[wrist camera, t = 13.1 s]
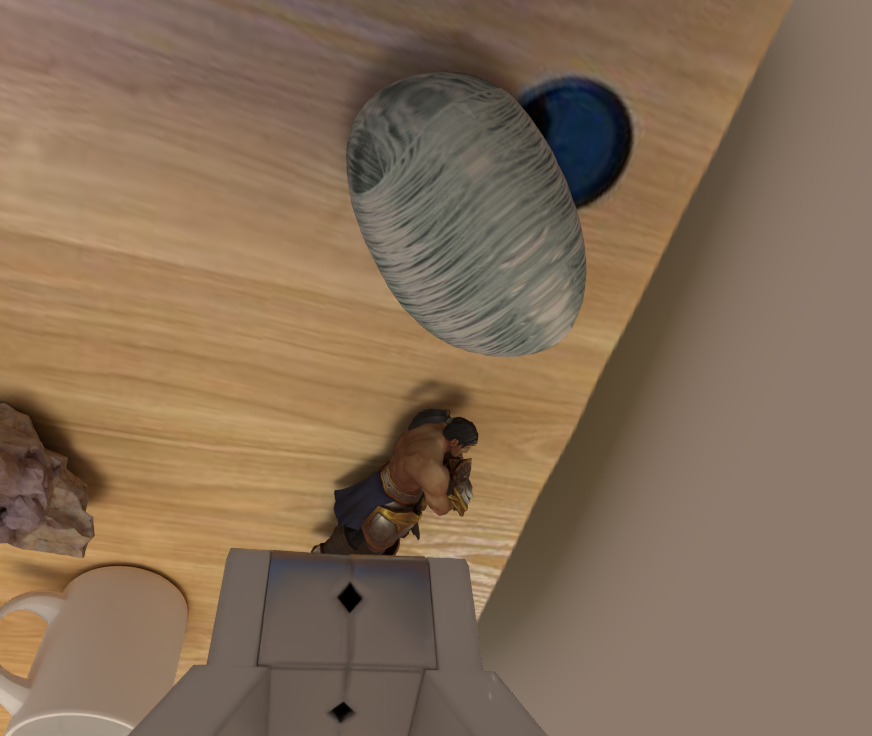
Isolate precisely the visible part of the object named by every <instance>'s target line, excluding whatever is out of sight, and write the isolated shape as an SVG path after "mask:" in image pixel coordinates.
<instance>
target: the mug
mask: <svg viewBox="0 0 872 736" xmlns="http://www.w3.org/2000/svg"><path fill="white" fill-rule="evenodd" d="M16 610H29V611H32V612H35V613H36V614H38V615H39V616H41V617H42V618H43V619H44V620H45V621H46V622H47V624H48V626H47V629H46V631H45V634H44V636H43V639H42V641H41V644H40V646H39V649H38V651H37V654H36V656H35V659H34V661H33V664H32V666H31V669H30V672H29V674H28V677H27V679H25V678H22V677H19V676H16V675H14V674H12V673H10V672H9V671H7V670H6V669H4V668H3V667H2V666H1V665H0V704H1V705H2V706H3V707H4V708H6V709H7V710H8V712H9V713H10V714H11V716H12V717H11V720H10V722H9V725H8V728H7V730H6V733H5V735H4V736H128V734H129V733H130V732H131V731H132V730H133V729H134V728H135V727H136V726H137V725H138V724H139V723H140V722H141V721H142V720H143V718H144V717H145V716H146V715H147V714H148V713H149V712H150V711H151V710H152V709H153V708H154V707H155V706H156V705H157V704H158V703H159V701H160V700H161V699H162V698H163V697H164V696H165V695H166V694H167V693H168V692H169V691H170V690H171V689H172V688H173V685H174V681H175V676H176V672H177V667H178V663H179V658H180V654H181V649H182V645H183V640H184V636H185V631H186V626H187V618H188V610H187V605H186V602H185V599H184V597H183V595H182V594H181V592H180V591H179V590H178V589H177V588H176V587H175V586H174V585H173V584H172V583H171V582H169V581H168V580H167V579H165V578H163V577H162V576H160V575H158V574H156V573H153V572H151V571H148V570H144V569H141V568H135V567H128V566H109V567H102V568H97V569H93V570H90V571H88V572H85V573H83V574H81V575H80V576H78V577H77V578H75V579H74V580H72V581H71V582H70V583H69V584H68V585H67V586H66V588H65V589H64V590H63V592H62V593H61V592H55V591H47V590H36V591H30V592H26V593H23V594H20V595H18V596H16V597H14V598H12V599H11V600H9V601H8V602H6V603H5V604H4V605H3V606H2V607H0V619H1V618H2V617H3V616H5V615H6V614H8V613H10V612H13V611H16Z"/></svg>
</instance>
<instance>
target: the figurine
mask: <svg viewBox="0 0 872 736" xmlns="http://www.w3.org/2000/svg"><path fill="white" fill-rule="evenodd" d="M441 408H442V407H441ZM449 415H450V411H449ZM449 415H448V413H447V410H446V411H445V410H441V409H428V410H425V411H422V412H419V413H418V414H417V415H416V416H415V417H414V419H413V420H412V422H411V423H410V424H409V428H408V430H407V432H405V433H404V434H402V436H401V437H400V439H399V440H398V442H397V444H396V445H395V448H394V451H393V457H392V459H391V461H389V460H388V461H387V462H386V463H385V464H383V465H382V466H381V467H380V468H379V469H378V470H377V471H375V472H374V473H373V474H372V475H371V476H370V477H368V478H367V479H365V480H363V481H361V482H359V483H357V484H355V485H353V486H350V487H348V488H345V489H342V490H335V492H334V495H335V500H336V502H335V505H334V512H335V515H336V518H337V519H338V526H336V527H335V529H334V531H333V534H332V536H331V537H330V538H329V539H328V540H327V541H326V542H325V543H320V544H319V545H316V546H314V547H313V549H312V550H311V553H322V554H336V555H350V554H360V555H391V556H395V555H396V553H397V551H398V549H399V545H400V538H405V537H406V536H407V535H408V534H409V531H410V530H412V533H413V535H416V537H417V539H418V540H419V538H420V533H419V526H418V522H419V520H420V519H421V515H422V512H421V511H424V510H425V508H426V506H427V504H428V505H429V507H430V508H431V509H432V510H433V511H434V512H435V513H436V514H437V515H439V516H441V515H445V514H447V513H448V512H449V511H450V510H452V509H453V511H455V510H457V511H458V513H459V514H460V516H463V515H464V511H466V510H468V505H467V504H468V503H470V500H469V499H471V498H473V494H472V485H471V482H470V481H469V475H470V471H471V461H472V458H469V459H463V457H462V453H463V452H465V453H467V452H468V450H469V449H470V448H471V446H475V445H474V444H476V443H477V441H478V433H477V430H476V427H475V425H474V424H473V423H472V422H470V421H468V420H466V419H465V418H462V417H455V418H451V417H450V416H449ZM474 441H475V442H474Z"/></svg>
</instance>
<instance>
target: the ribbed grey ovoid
mask: <svg viewBox="0 0 872 736" xmlns="http://www.w3.org/2000/svg"><path fill="white" fill-rule="evenodd" d="M346 158H347V175H348V183H349V190H350V196H351V202H352V206H353V209H354V213H355V215H356V218H357V221H358V224H359V227H360V230H361V233H362V235H363V238H364V240H365V243H366V245H367V247H368V249H369V251H370V253H371V255H372V257H373V259H374V261H375V262H376V264H377V266H378V268H379V270H380V272H381V274H382V276H383V278H384V279H385V281H386V283H387V285H388V287H389V289H390V290H391V292H392V293H393V294H394V296H395V297H396V299H397V300H398V301H399V303H400V304H401V305H402V307H403V308H404V309H405V310H406V311H407V312H408V313H409V314H410V315H411V316H412V317H413V318H414V319H416V321H417V322H418V323H419V324H420V325H421V326H423V327H424V328H425V329H426V330H427V331H429V332H430V333H431V334H433V335H434V336H435V337H437V338H439V339H441V340H443V341H445V342H446V343H448V344H450V345H452V346H454V347H458V348H461V349H464V350H467V351H469V352H474V353H479V354H483V355H486V356H501V357H515V356H524V355H529V354H534V353H537V352H541V351H544V350H546V349H548V348H550V347H552V346H554V345H556V344H558V343H559V342H560V341H561V340H562V339H563V338H564V337H565V336H566V335H567V334H568V333H569V332H570V330H571V328H572V326H573V324H574V322H575V320H576V318H577V315H578V313H579V311H580V308H581V305H582V302H583V297H584V290H585V281H586V255H585V247H584V239H583V234H582V229H581V225H580V221H579V217H578V213H577V210H576V207H575V204H574V202H573V199H572V196H571V193H570V190H569V187H568V184H567V181H566V179H565V177H564V175H563V173H562V171H561V169H560V167H559V165H558V163H557V161H556V158H555V156H554V154H553V152H552V150H551V148H550V147H549V145H548V143H547V142H546V140H545V139H544V137H543V136H542V134H541V132H540V131H539V129H538V128H537V127H536V125H535V124H534V122H533V121H532V119H531V118H530V116H529V115H528V114H527V113H526V112H525V110H524V109H523V108H522V107H521V105H520V104H519V103H518V102H517V101H516V100H515V99H514V98H513V97H512V96H511V95H510V94H509V93H508V92H506V91H505V90H503V89H502V88H500V87H498V86H497V85H495V84H493V83H492V82H490V81H488V80H486V79H483V78H480V77H477V76H474V75H470V74H464V73H457V72H448V71H445V72H433V73H424V74H419V75H414V76H410V77H408V78H404V79H400V80H397V81H395V82H393V83H391V84H389V85H388V86H387V87H385V88H383V89H382V90H380V91H378V92H377V93H376V94H375V95H374V96H372V97H371V98H370V99H369V100H368V101H367V102H366V103H365V105H364V106H363V108H362V109H361V110H360V112H359V113H358V114H357V116H356V117H355V120H354V122H353V124H352V126H351V130H350V134H349V138H348V142H347V153H346Z"/></svg>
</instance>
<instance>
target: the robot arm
mask: <svg viewBox="0 0 872 736" xmlns="http://www.w3.org/2000/svg"><path fill="white" fill-rule="evenodd" d="M128 736H548V735H547V734H546V733H545V732H544V731H543V730H542V728H541V727H540V726H539V725H538V723H537V722H536V721H535V720H534V718H533V717H532V716H531V715H530V714H529V712H528V711H527V710H526V709H525V707H524V706H523V705H522V704H521V703H520V702H519V700H518V699H517V698H516V697H515V695H514V694H513V693H512V692H511V691H510V689H509V688H508V687H507V686H506V685H505V684H504V682H503V681H502V680H501V678H500V677H499V676H498V675H497V674H496V672H489V671H488V672H487V671H483V665H482V657H481V651H480V644H479V636H478V629H477V622H476V615H475V608H474V601H473V594H472V587H471V580H470V572H469V566H468V564H467V562H466V561H465V559H455V558H432V557H427V558H425V557H423V556H391V555H360V554H350V555H336V554H322V553H308V552H293V551H279V550H258V549H242V548H231V549H230V552H229V554H228V557H227V559H226V564H225V570H224V575H223V580H222V585H221V591H220V596H219V601H218V607H217V612H216V617H215V623H214V628H213V633H212V639H211V644H210V649H209V655H208V660H207V665H193V666H192V667H191V668H190V669H189V671H188V672H187V673H186V674H185V675H184V676H183V677H182V678H181V679H180V680H179V681H178V682H177V683H176V684H175V685H174V687H173V688H172V689H171V690H170V691H169V692H168V693H167V694H166V695H165V696H164V697H163V698H162V699H161V700H160V701H159V703H158V704H157V705H156V706H155V707H154V708H153V709H152V710H151V711H150V712H149V713H148V714H147V715H146V716H145V717H144V718H143V720H142V721H141V722H140V723H139V724H138V725H137V726H136V727H135V728H134V729H133V730H132V731H131V732H130V733H129V734H128Z"/></svg>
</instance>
